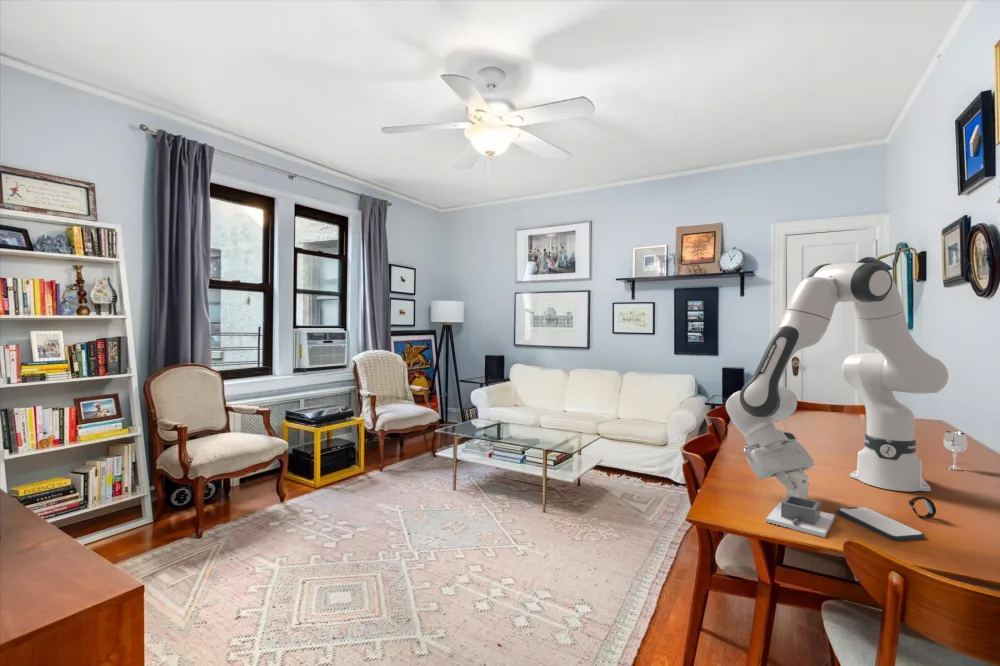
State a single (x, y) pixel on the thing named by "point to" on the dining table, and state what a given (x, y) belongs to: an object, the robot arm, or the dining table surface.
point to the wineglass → (955, 444)
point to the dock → (801, 516)
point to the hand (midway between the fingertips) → (799, 487)
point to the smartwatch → (928, 504)
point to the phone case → (880, 524)
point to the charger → (798, 484)
